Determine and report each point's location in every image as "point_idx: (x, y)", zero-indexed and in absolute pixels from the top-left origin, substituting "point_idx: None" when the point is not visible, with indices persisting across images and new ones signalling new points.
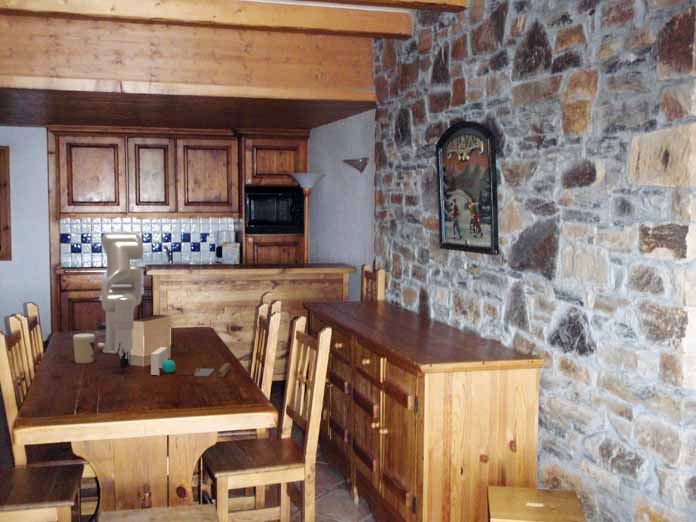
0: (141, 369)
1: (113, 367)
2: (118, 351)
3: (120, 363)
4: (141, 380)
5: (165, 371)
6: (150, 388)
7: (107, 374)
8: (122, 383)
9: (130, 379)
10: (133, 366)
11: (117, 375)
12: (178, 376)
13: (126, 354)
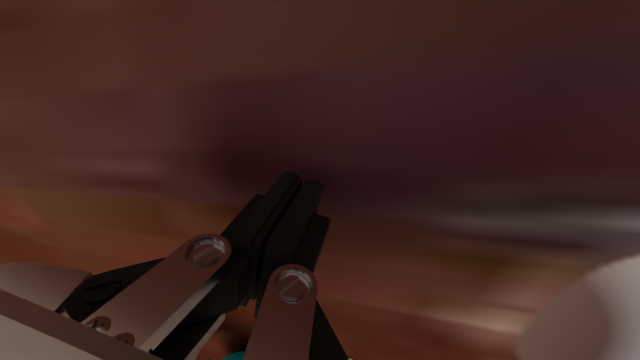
0: (345, 288)
1: (543, 65)
2: (69, 339)
3: (266, 194)
4: (97, 245)
5: (230, 354)
6: (13, 253)
7: (172, 31)
8: (8, 161)
9: (94, 203)
10: (486, 264)
11: (158, 130)
12: (196, 356)
13: (158, 354)
